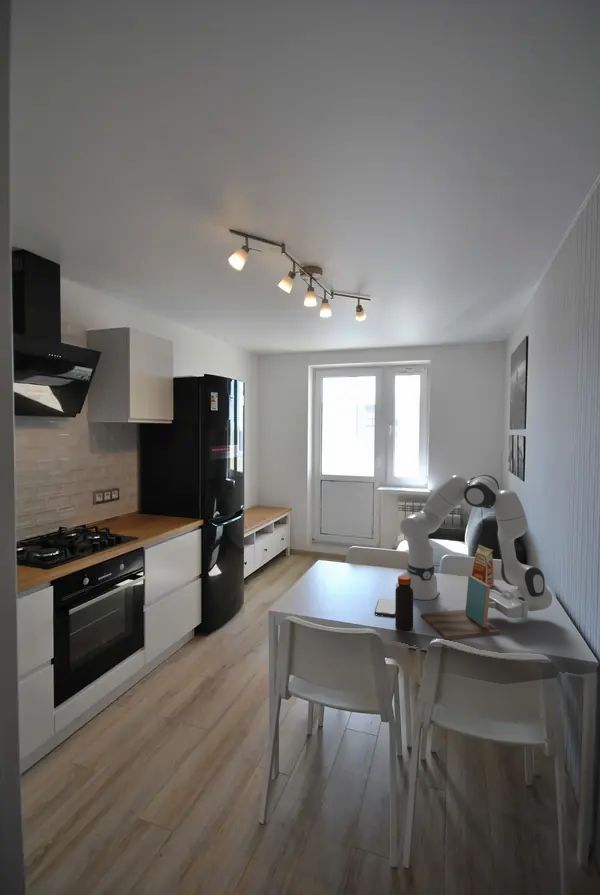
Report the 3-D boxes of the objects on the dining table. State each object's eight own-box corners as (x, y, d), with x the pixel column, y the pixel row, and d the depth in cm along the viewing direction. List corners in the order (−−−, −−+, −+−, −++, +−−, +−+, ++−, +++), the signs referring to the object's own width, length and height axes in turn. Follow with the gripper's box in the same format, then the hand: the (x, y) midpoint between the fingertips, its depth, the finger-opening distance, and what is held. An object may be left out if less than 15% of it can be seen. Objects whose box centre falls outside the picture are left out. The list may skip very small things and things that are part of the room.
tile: (464, 614, 176) (468, 575, 175) (468, 614, 176) (472, 575, 176) (482, 627, 164) (486, 586, 164) (486, 627, 164) (490, 586, 164)
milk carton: (470, 585, 213) (470, 545, 212) (478, 580, 219) (479, 542, 218) (488, 590, 206) (488, 549, 206) (496, 585, 213) (497, 545, 212)
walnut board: (420, 616, 178) (420, 613, 178) (468, 611, 182) (468, 609, 182) (445, 639, 158) (445, 636, 158) (499, 633, 162) (499, 630, 162)
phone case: (378, 602, 195) (374, 616, 179) (378, 598, 194) (374, 612, 179) (398, 604, 192) (395, 618, 177) (398, 600, 192) (395, 614, 177)
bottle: (410, 623, 171) (410, 574, 170) (415, 631, 164) (415, 580, 164) (393, 623, 171) (393, 574, 170) (397, 631, 164) (398, 580, 163)
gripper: (496, 584, 183) (466, 586, 180) (530, 603, 163) (497, 606, 160) (495, 598, 183) (466, 601, 181) (530, 619, 163) (497, 622, 161)
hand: (481, 603), depth 170 cm, fingers closed
